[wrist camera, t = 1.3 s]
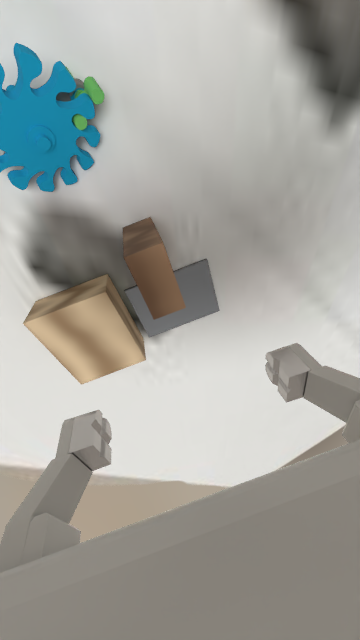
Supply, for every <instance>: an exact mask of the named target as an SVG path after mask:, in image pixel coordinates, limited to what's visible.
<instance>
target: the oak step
mask: <svg viewBox="0 0 360 640" xmlns="http://www.w3.org/2000/svg"><path fill="white" fill-rule="evenodd" d="M23 324H24V325H25V326H26V327H27V328H28V329H29V330H30V331H31V332H32V333H33V335H34V336H35V337H36V338H37V339H38V340H39V341H40V342H41V343H42V344H43V345H44V346H45V347H46V348H47V349H48V350H49V351H50V352H51V353H52V354H53V355H54V356H55V357H56V359H57V360H58V361H59V362H60V363H61V364H62V365H63V366H64V367H65V368H66V369H67V370H68V371H69V372H70V373H71V374H72V375H73V376H74V377H75V378H76V379H77V380H78V382H79V383H80V384H84V383H86V382H89V381H92V380H94V379H97V378H100V377H102V376H105V375H108V374H110V373H113V372H115V371H118V370H121V369H123V368H126V367H129V366H131V365H134V364H137V363H139V362H142V361H145V360H146V357H145V349H144V341H143V337H142V335H141V333H140V331H139V330H138V328H137V326H136V324H135V322H134V321H133V319H132V317H131V315H130V313H129V312H128V310H127V308H126V306H125V304H124V303H123V301H122V299H121V297H120V295H119V294H118V292H117V290H116V288H115V286H114V285H113V283H112V281H111V279H110V277H109V276H108V274H106V275H103V276H100V277H98V278H95V279H93V280H90V281H87V282H85V283H82V284H80V285H77V286H74V287H72V288H69V289H67V290H64V291H61V292H59V293H56V294H54V295H51V296H48V297H46V298H43V299H41V300H38V301H36V302H35V304H34V305H33V307H32V309H31V311H30V312H29V314H28V316H27V317H26V319H25V321H24V323H23Z"/></svg>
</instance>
